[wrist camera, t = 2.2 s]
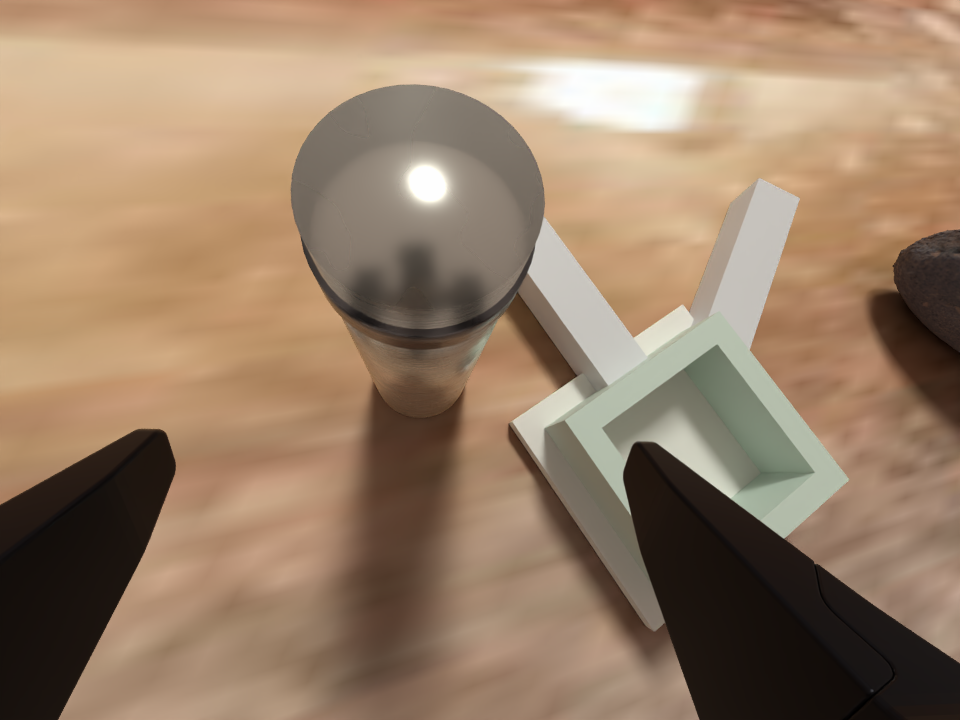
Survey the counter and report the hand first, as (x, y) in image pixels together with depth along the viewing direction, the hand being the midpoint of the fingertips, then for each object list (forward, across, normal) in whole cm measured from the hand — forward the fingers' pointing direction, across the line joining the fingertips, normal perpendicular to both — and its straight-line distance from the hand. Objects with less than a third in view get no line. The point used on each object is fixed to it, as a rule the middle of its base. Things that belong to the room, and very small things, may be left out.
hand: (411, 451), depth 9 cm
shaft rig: (+12, -11, +3) cm, 17 cm away
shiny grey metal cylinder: (+11, 0, +5) cm, 12 cm away
